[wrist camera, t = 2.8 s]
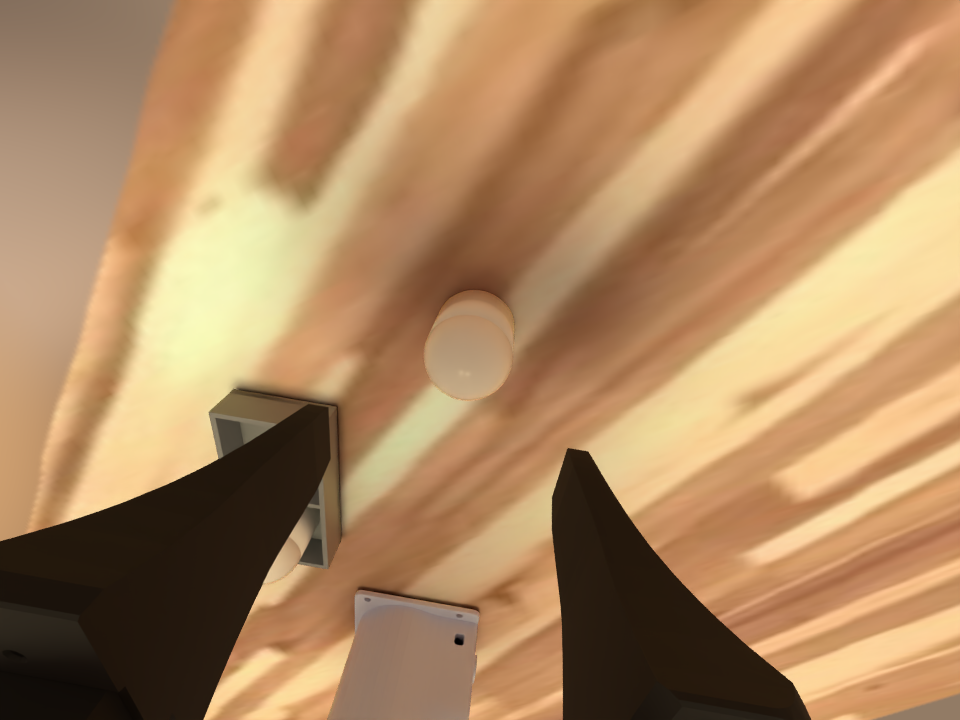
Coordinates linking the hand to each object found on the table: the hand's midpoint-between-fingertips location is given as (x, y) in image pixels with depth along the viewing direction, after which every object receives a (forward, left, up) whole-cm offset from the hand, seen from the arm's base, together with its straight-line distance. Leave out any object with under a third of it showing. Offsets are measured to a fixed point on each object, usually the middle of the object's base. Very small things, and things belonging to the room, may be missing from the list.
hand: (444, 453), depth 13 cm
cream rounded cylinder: (0, 0, -9) cm, 9 cm away
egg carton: (+10, +12, -9) cm, 18 cm away
